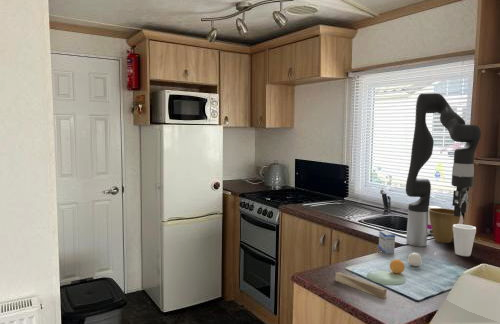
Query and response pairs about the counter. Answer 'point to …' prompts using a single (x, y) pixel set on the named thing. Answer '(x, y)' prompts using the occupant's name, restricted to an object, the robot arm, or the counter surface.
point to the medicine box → (386, 242)
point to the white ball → (414, 259)
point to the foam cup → (463, 239)
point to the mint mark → (386, 278)
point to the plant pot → (443, 224)
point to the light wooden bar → (361, 285)
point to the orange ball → (397, 266)
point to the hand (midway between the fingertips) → (459, 214)
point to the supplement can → (429, 229)
